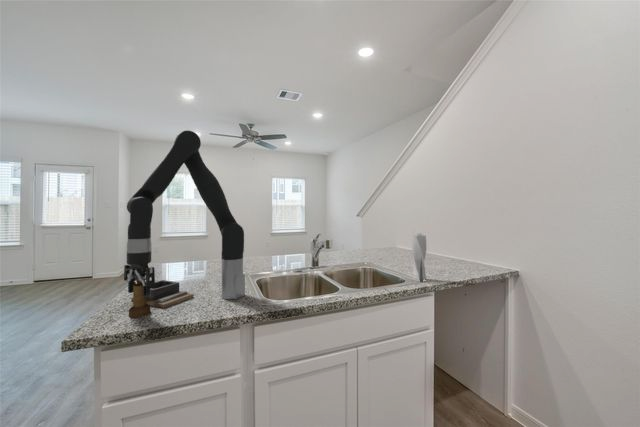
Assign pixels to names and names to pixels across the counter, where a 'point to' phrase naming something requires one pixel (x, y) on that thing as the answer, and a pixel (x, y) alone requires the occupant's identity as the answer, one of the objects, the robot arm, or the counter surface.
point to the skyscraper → (419, 256)
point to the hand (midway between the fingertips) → (138, 293)
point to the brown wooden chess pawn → (139, 301)
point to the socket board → (166, 294)
